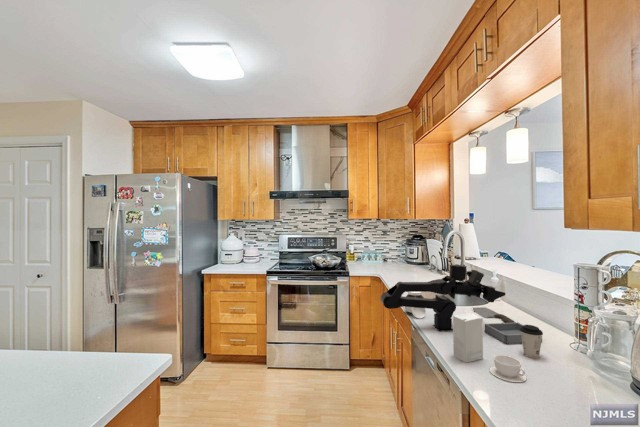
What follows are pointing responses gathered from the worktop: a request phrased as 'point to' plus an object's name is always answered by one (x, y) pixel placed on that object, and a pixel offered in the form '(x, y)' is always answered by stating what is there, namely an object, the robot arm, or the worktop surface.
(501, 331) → the tray
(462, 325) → the skincare box
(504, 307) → the worktop surface
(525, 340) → the coffee cup
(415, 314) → the spread jar
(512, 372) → the teacup
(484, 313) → the cleaver
